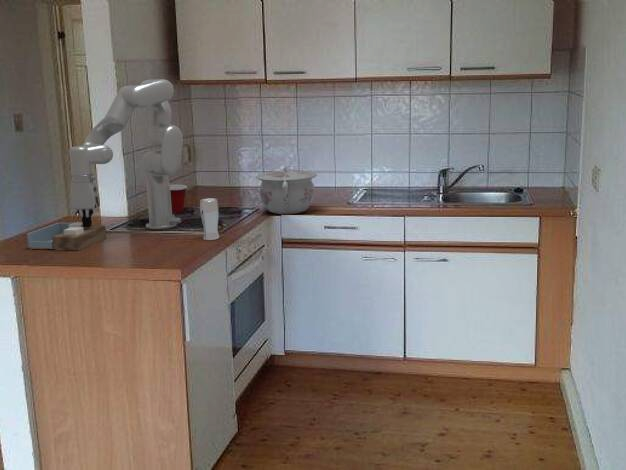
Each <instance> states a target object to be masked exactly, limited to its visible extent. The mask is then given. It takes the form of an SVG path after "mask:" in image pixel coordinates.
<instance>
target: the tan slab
mask: <svg viewBox="0 0 626 470" xmlns="http://www.w3.org/2000/svg"><path fill="white" fill-rule="evenodd" d="M83 230H84V233H82V234H79V235H76V236H73V235H64V233H61V234H59V235H56V236H53V237H52V239H53V247H54V249H62V250H61V251H65V250H79V251H81V250H83V248H84V249H85V247H86V248H87V247H88V248H89V247H90V246H93V245H95V244H97V243H100V242H102V241H104V240H107V238H108V237H107V228H106V226H105V225H91V226H90V227H88V228H85V229H83ZM80 249H81V250H80Z"/></svg>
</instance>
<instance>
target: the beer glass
mask: <svg viewBox="0 0 626 470" xmlns="http://www.w3.org/2000/svg"><path fill="white" fill-rule="evenodd" d="M199 203H200V204H199V214H200V219H201V223H202V227H203V237H202V239H203V240H205V241H214V240H215V241H216V240H219V239H220V235H219V231H218V229H219V228H218V225H219V216H220V215H219V214H220V210H219V203H218V198H213V197H212V198H211V197H210V198H203V199H202V198H201V199H200V200H199Z"/></svg>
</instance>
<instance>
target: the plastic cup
mask: <svg viewBox="0 0 626 470" xmlns="http://www.w3.org/2000/svg"><path fill="white" fill-rule="evenodd" d="M187 188H188V186H187V185H185V184H170V194H171V206H172V213H181V212H183V211H184V207H185V201H186V199H185V198H186V191H187Z"/></svg>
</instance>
